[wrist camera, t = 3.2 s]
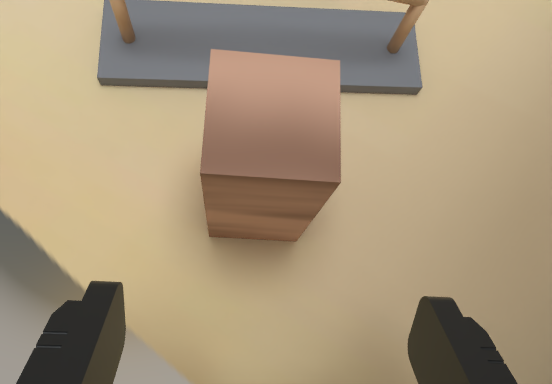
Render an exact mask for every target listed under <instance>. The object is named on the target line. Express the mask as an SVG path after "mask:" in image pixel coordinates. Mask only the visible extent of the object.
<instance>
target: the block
mask: <svg viewBox="0 0 552 384" xmlns="http://www.w3.org/2000/svg"><path fill="white" fill-rule="evenodd" d="M200 175H201V182H202V189H203V196H204V203H205V210H206V217H207V224H208V231H209V236H210V237H228V238H246V239H264V240H283V241H297V240H298V238H299V237H300V236H301V234H302V233H303V232H304V230H305V229H306V228H307V226H308V225H309V224H310V222H311V221H312V220H313V218H314V217H315V216H316V215H317V213H318V212H319V211H320V209H321V208H322V207H323V205H324V204H325V203H326V201H327V200H328V199H329V197H330V196H331V195H332V193H333V192H334V191H335V189H336V188H337V187H338V185H339V184H340V183H341V141H340V60H330V59H319V58H307V57H296V56H285V55H274V54H263V53H251V52H240V51H229V50H218V49H211V53H210V64H209V76H208V88H207V99H206V111H205V123H204V135H203V146H202V158H201V170H200Z"/></svg>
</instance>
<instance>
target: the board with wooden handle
mask: <svg viewBox="0 0 552 384" xmlns="http://www.w3.org/2000/svg"><path fill="white" fill-rule="evenodd" d="M389 1H394V2H399V3H404V4H409V5H410V7H409V8H408V10H407V12H406V13H403V12H382V11H361V10H340V9H319V8H298V7H277V6H256V5H235V4H214V3H193V2H172V1H151V0H104V8H103V19H102V30H101V41H100V52H99V63H98V74H97V78H98V80H99V82H100V84H101V85H112V86H146V87H180V88H208V76H209V64H210V53H211V49H218V50H229V51H240V52H251V53H263V54H274V55H285V56H296V57H307V58H319V59H330V60H340V92H351V93H385V94H417V93H418V92H419V91H420V90H421V88H422V81H421V73H420V65H419V57H418V49H417V41H416V33H415V23H416V21H417V20H418V18H419V16H420V15H421V13H422V11H423V10H424V8H425V6H426V5H427V3H428V1H429V0H389Z"/></svg>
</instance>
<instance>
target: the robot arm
mask: <svg viewBox="0 0 552 384" xmlns="http://www.w3.org/2000/svg"><path fill="white" fill-rule="evenodd" d="M125 331H126V325H125V309H124V294H123V285H122V283H121V282H105V281H91V282H90V284H89V286H88V288H87V290H86V293H85V295H84V297H83V299H82V301H71V300H68V301H67V302H65V303H64V304H63V305H62V306H61V307H60V308H58V309H57V310H56V311H55V312H54V313H53V314H52V315H51V317H50V319H49V321H48V323H47V325H46V327H45V329H44V331H43V334H42V335H41V336H40V338H39V340H38V342H37V344H36V348H34V350H33V352H32V354H31V356H30V358H29V360H28V362H27V364H26V365H25V367H24V369H23V371H22V373H21V375H20V377H19V379H18V381H17V383H16V384H113V381H114V378H115V375H116V371H117V368H118V364H119V361H120V358H121V354H122V351H123V347H124V341H125ZM408 355H409V360H410V363H411V365H412V368H413V371H414V373H415V376H416V379H417V381H418V384H517V382H516V380H515V379H514V377H513V375H512V374H511V372H510V370H509V369H508V367H507V365H506V364H504V360H503V359H502V357H501V355H500V354H499V352H498V351H496V347H495V345H494V343H493V342H492V340H491V338H490V337H489V335H488V333H487V332H486V331H485V330H484V329H483V328H482V327H481V326H480V325H479V324H478V323H476V322H475V321H474V320H473V319H472V318H471V317H463V315H462V314H461V312H460V310H459V308H458V306H457V305H456V303H455V301H454V300H453V299H452V298H450V297H428V296H424V297H422V298H421V300H420V302H419V305H418V308H417V311H416V315H415V318H414V321H413V325H412V328H411V331H410V334H409V338H408Z"/></svg>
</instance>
